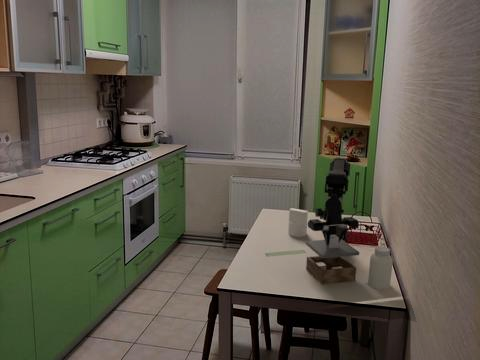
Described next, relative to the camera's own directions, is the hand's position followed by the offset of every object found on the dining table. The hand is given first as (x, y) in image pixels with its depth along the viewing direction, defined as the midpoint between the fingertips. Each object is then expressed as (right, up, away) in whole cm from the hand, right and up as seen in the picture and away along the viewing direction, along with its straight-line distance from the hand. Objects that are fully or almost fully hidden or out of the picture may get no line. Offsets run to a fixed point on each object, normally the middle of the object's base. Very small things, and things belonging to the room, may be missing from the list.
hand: (331, 245), depth 178 cm
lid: (0, -2, 0) cm, 2 cm away
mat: (-13, -9, +18) cm, 24 cm away
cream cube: (-4, -11, +5) cm, 13 cm away
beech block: (+3, -12, +1) cm, 13 cm away
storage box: (0, -13, +3) cm, 13 cm away
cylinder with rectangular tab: (-7, -2, +52) cm, 52 cm away
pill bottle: (+16, -15, -5) cm, 23 cm away
